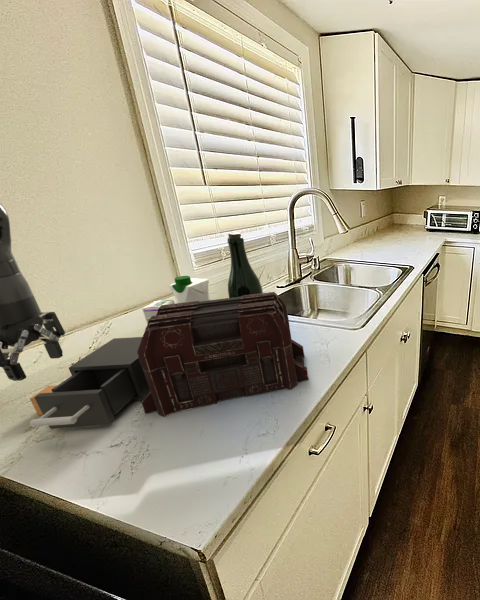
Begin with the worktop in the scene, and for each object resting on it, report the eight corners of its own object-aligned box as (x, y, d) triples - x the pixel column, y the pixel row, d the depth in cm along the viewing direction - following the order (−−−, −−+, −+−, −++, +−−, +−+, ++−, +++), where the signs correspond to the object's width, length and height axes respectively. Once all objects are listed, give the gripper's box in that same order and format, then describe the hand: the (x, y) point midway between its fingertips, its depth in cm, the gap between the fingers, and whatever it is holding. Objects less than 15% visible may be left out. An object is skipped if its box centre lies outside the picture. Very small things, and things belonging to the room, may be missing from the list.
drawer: (93, 442, 63) (78, 408, 60) (27, 447, 62) (9, 413, 59) (149, 387, 79) (139, 359, 76) (97, 390, 78) (85, 362, 75)
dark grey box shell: (143, 400, 76) (130, 364, 72) (84, 404, 75) (68, 367, 71) (175, 367, 89) (166, 335, 85) (125, 370, 88) (113, 338, 84)
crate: (140, 422, 69) (107, 334, 61) (165, 374, 85) (142, 300, 78) (309, 386, 80) (299, 308, 73) (303, 350, 97) (294, 283, 89)
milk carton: (180, 338, 105) (163, 279, 98) (202, 326, 113) (188, 270, 106) (203, 340, 103) (187, 280, 96) (223, 328, 111) (210, 272, 104)
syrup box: (176, 351, 97) (163, 306, 92) (155, 352, 96) (141, 307, 91) (186, 342, 102) (174, 299, 97) (167, 343, 102) (154, 300, 96)
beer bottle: (239, 328, 111) (218, 231, 99) (271, 324, 114) (255, 229, 102) (233, 342, 102) (209, 236, 90) (268, 338, 104) (250, 234, 92)
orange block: (37, 415, 71) (29, 398, 70) (56, 401, 76) (48, 385, 74) (60, 413, 72) (52, 396, 70) (76, 400, 76) (69, 384, 74)
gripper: (20, 287, 70) (50, 352, 76) (-61, 312, 57) (-16, 389, 63) (57, 285, 71) (84, 350, 77) (-14, 310, 58) (26, 386, 64)
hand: (39, 368), depth 70 cm, fingers open, 8 cm apart
